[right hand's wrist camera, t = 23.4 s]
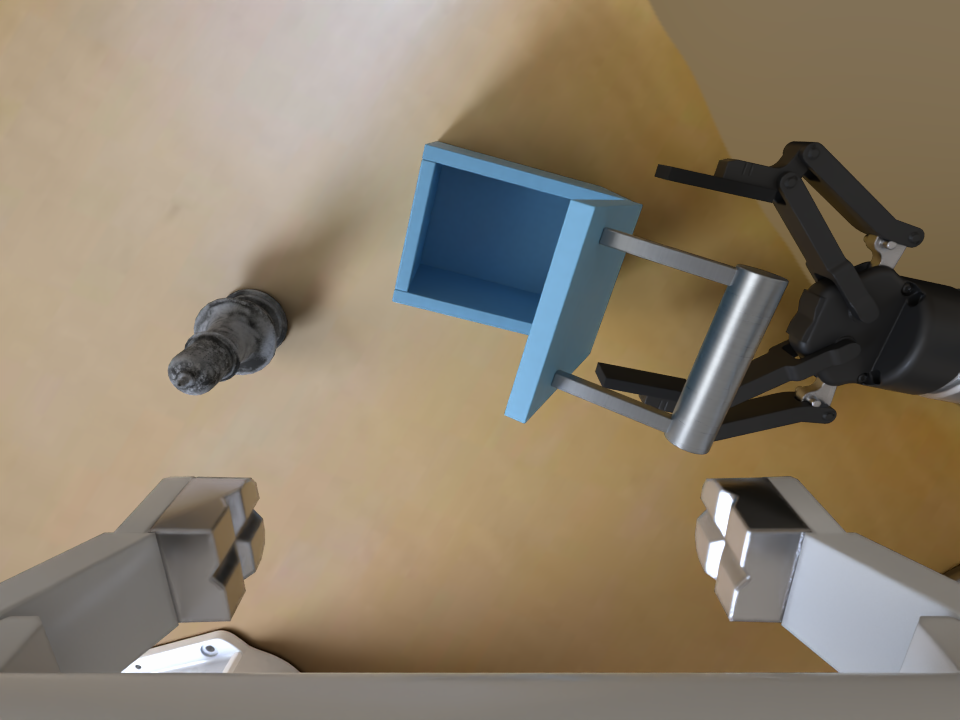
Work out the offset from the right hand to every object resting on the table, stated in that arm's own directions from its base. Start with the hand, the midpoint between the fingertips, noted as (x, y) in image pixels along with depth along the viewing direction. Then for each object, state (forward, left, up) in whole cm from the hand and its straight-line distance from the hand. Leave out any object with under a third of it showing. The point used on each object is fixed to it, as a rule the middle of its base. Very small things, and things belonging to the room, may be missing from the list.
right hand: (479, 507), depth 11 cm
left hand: (+9, -4, -28) cm, 29 cm away
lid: (+4, -2, -19) cm, 20 cm away
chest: (+2, -1, -34) cm, 34 cm away
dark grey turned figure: (-18, -5, -34) cm, 39 cm away
